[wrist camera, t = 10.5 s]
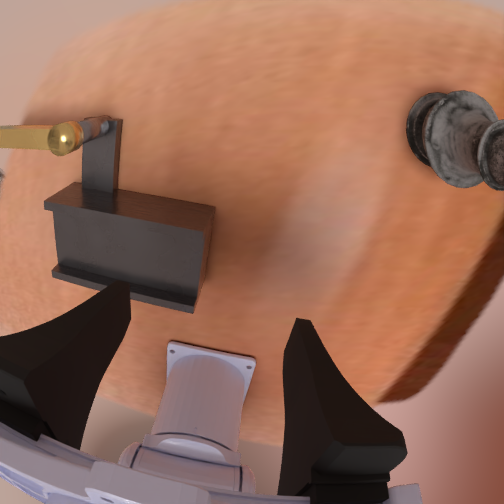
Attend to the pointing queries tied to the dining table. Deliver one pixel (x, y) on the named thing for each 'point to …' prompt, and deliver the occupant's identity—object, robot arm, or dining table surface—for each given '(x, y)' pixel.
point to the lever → (43, 137)
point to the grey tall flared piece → (458, 138)
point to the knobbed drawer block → (1, 176)
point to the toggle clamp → (128, 230)
